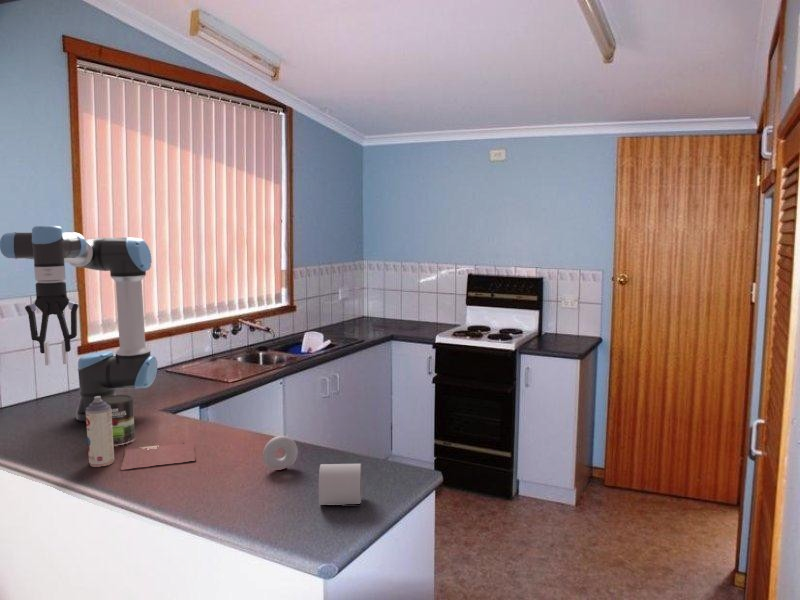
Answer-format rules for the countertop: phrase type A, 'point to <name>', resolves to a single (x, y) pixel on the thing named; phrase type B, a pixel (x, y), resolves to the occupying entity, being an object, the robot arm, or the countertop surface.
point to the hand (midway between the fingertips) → (56, 363)
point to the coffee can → (121, 418)
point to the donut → (276, 444)
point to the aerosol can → (99, 432)
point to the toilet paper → (340, 484)
